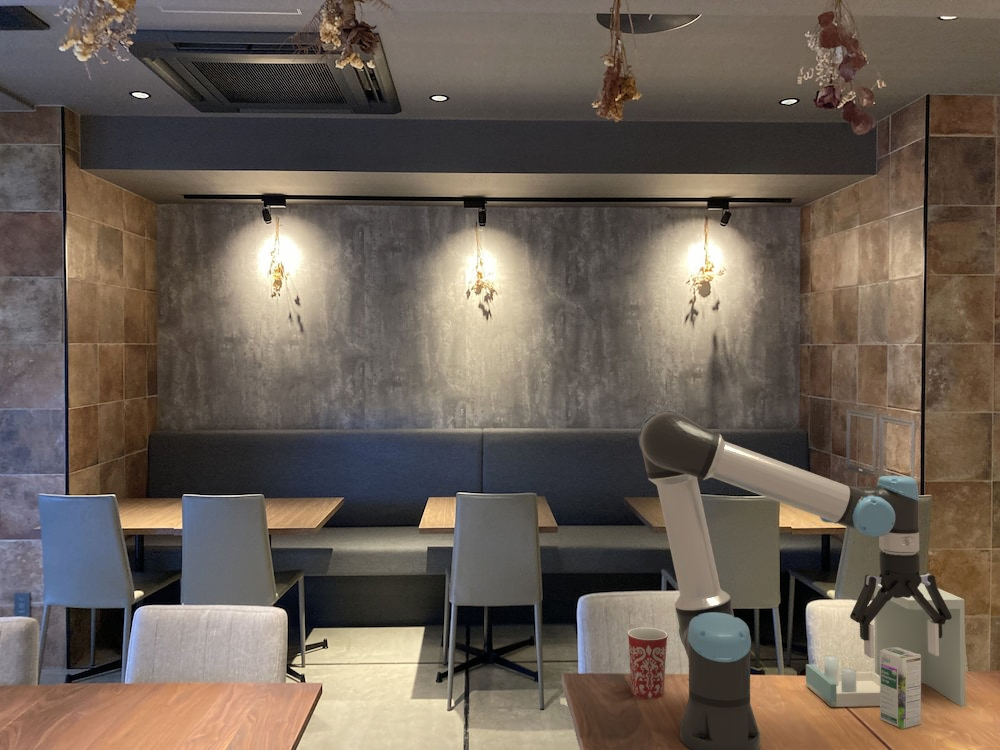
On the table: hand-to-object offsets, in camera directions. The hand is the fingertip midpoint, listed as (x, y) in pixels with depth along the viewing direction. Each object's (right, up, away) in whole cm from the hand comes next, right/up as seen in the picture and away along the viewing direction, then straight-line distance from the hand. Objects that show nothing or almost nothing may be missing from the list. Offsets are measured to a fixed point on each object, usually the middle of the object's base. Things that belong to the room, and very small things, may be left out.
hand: (901, 655), depth 173 cm
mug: (-49, -14, +18) cm, 55 cm away
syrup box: (0, -14, 0) cm, 14 cm away
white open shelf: (+11, -14, +15) cm, 24 cm away
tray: (-4, -14, +14) cm, 20 cm away
